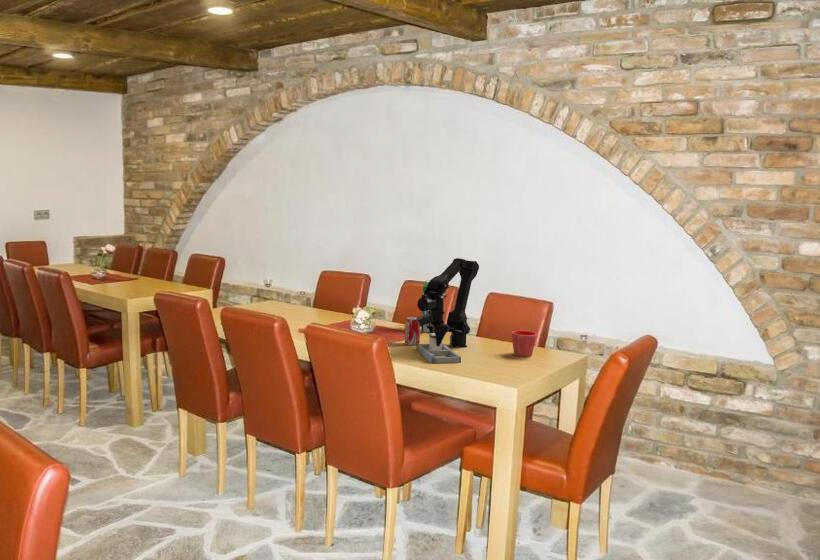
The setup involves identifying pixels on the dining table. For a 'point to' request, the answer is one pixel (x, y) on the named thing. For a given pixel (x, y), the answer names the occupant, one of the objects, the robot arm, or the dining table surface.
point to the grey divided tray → (438, 354)
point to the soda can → (412, 331)
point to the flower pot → (523, 342)
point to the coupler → (433, 342)
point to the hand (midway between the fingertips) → (435, 344)
